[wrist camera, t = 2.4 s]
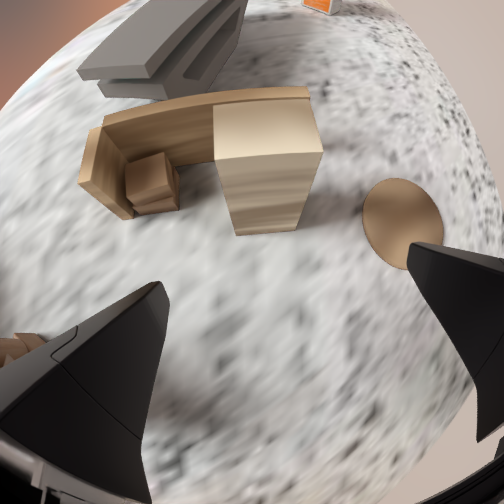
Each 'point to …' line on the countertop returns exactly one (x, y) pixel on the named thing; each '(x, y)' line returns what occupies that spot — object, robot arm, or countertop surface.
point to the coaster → (400, 219)
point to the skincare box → (323, 5)
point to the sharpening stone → (166, 49)
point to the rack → (159, 139)
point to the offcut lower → (163, 200)
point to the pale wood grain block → (266, 162)
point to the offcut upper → (149, 180)
